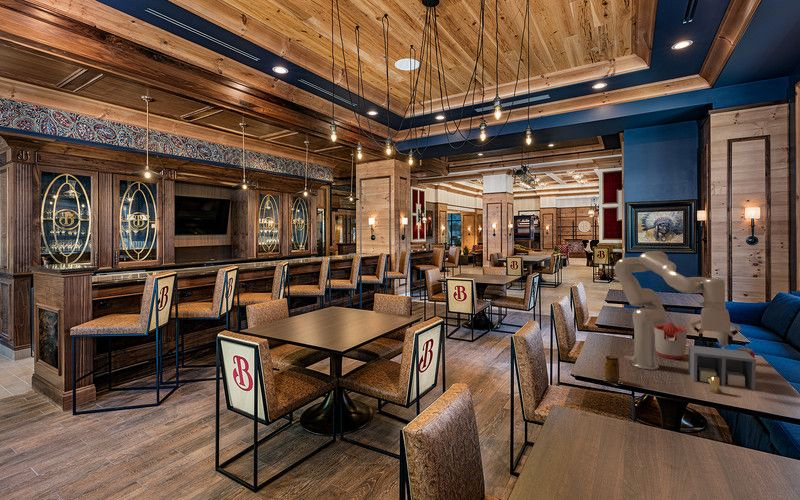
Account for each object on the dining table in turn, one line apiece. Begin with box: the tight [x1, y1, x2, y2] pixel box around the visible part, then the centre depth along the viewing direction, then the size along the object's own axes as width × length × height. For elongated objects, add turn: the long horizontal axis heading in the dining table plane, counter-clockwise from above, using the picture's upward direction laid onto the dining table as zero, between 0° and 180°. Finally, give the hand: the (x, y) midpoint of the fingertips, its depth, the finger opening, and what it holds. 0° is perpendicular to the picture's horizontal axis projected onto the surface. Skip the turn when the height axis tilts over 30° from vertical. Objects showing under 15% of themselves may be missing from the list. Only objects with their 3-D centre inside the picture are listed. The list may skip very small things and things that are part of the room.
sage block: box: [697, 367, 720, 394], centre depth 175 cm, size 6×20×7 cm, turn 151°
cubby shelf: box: [687, 344, 757, 391], centre depth 180 cm, size 22×14×14 cm, turn 61°
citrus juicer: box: [653, 322, 688, 360], centre depth 216 cm, size 16×17×20 cm
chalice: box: [716, 328, 733, 349], centre depth 208 cm, size 7×7×18 cm
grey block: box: [725, 371, 746, 388], centre depth 177 cm, size 6×6×5 cm
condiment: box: [604, 354, 620, 386], centre depth 181 cm, size 7×8×12 cm
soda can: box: [737, 347, 756, 359], centre depth 191 cm, size 7×7×12 cm
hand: (715, 343), depth 169 cm, fingers open, 9 cm apart
